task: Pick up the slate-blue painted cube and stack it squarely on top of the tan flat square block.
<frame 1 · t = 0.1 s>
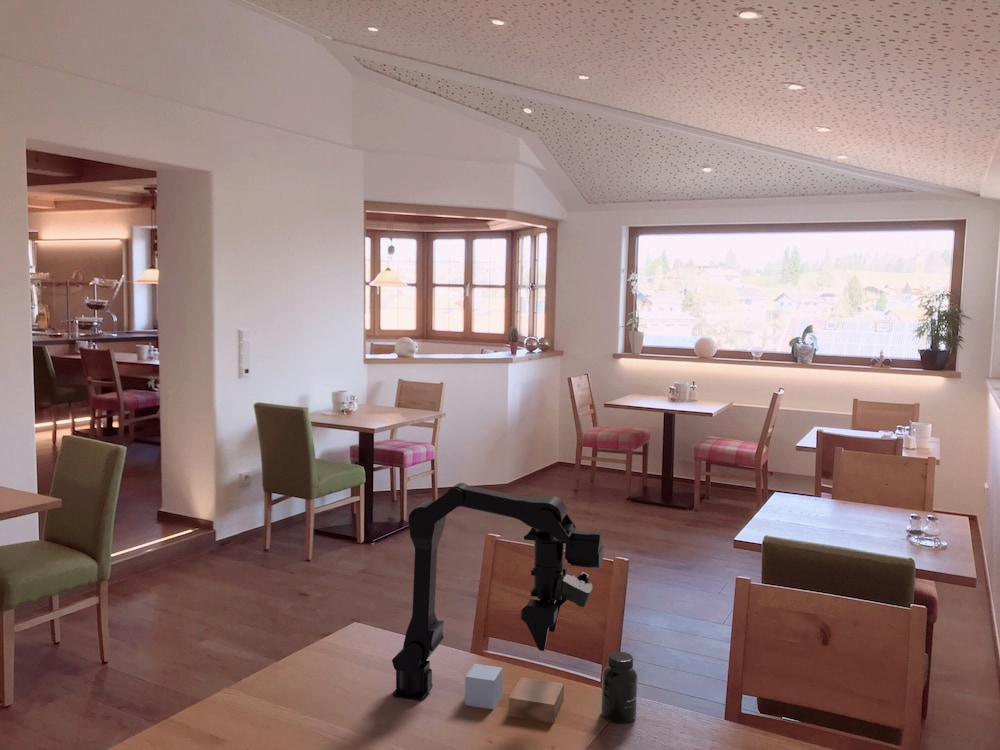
hand: (546, 640, 156), 15 cm above the table, tool pointing down, fingers open, 9 cm apart
supplement bottle: (618, 716, 157), on the table
slate cube: (483, 700, 162), on the table
tan flat square block: (536, 709, 159), on the table
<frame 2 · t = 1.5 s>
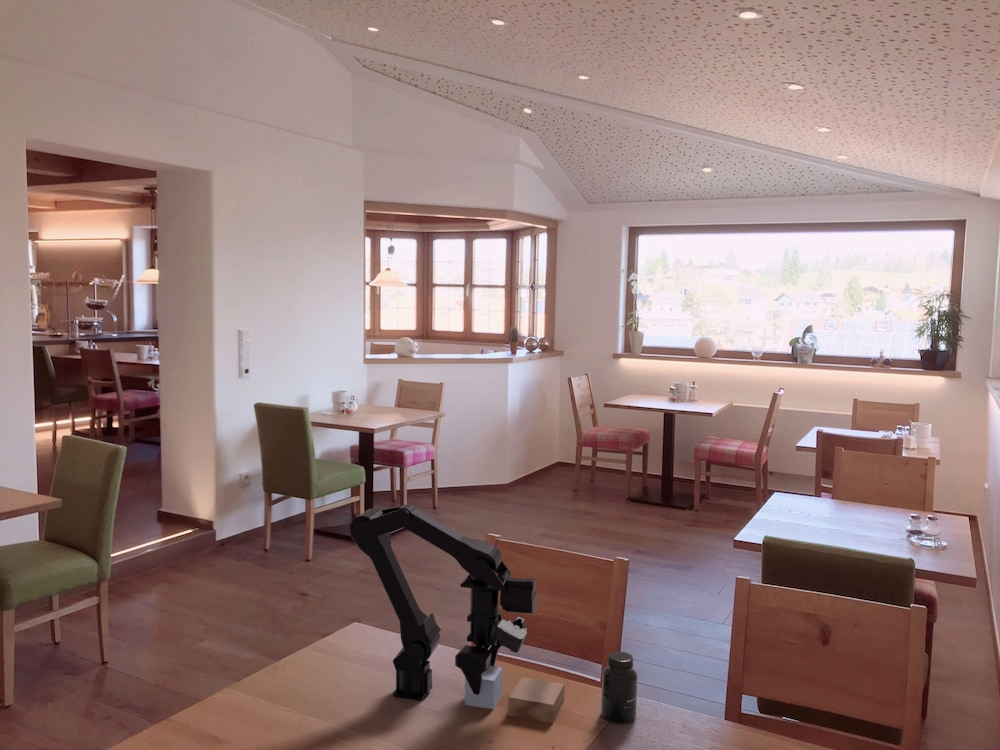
hand: (483, 683, 162), 3 cm above the table, tool pointing down, fingers open, 9 cm apart
nothing on the table moved.
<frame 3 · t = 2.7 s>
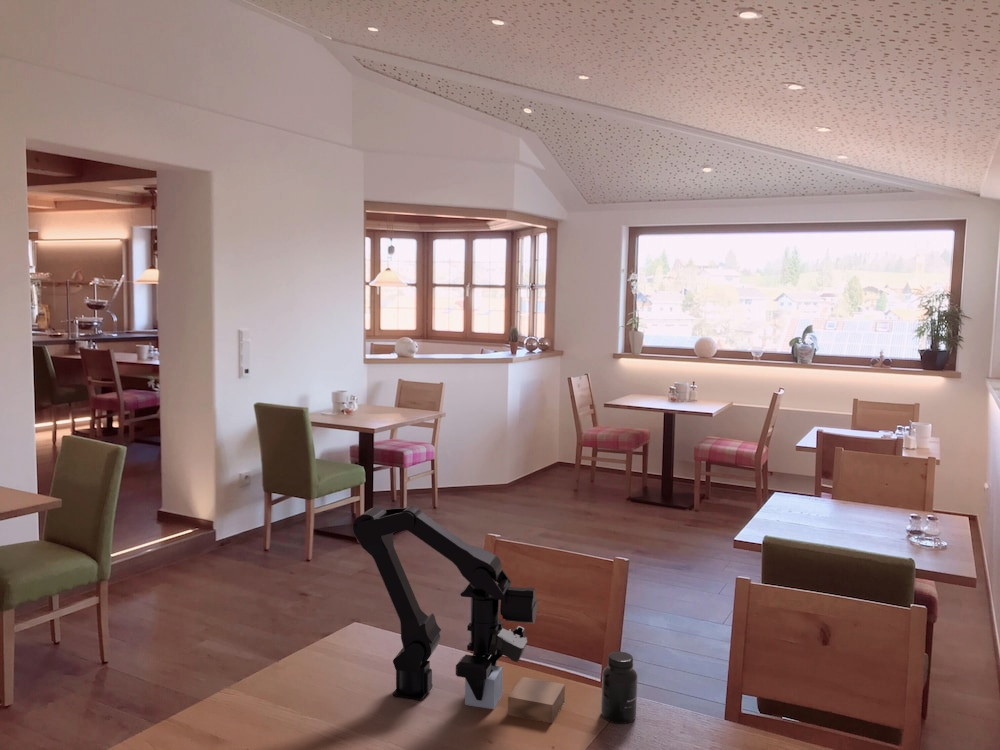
hand: (483, 692, 162), 2 cm above the table, tool pointing down, fingers closed on slate cube, 6 cm apart
slate cube: (483, 699, 162), on the table, touching gripper
everything else where it was.
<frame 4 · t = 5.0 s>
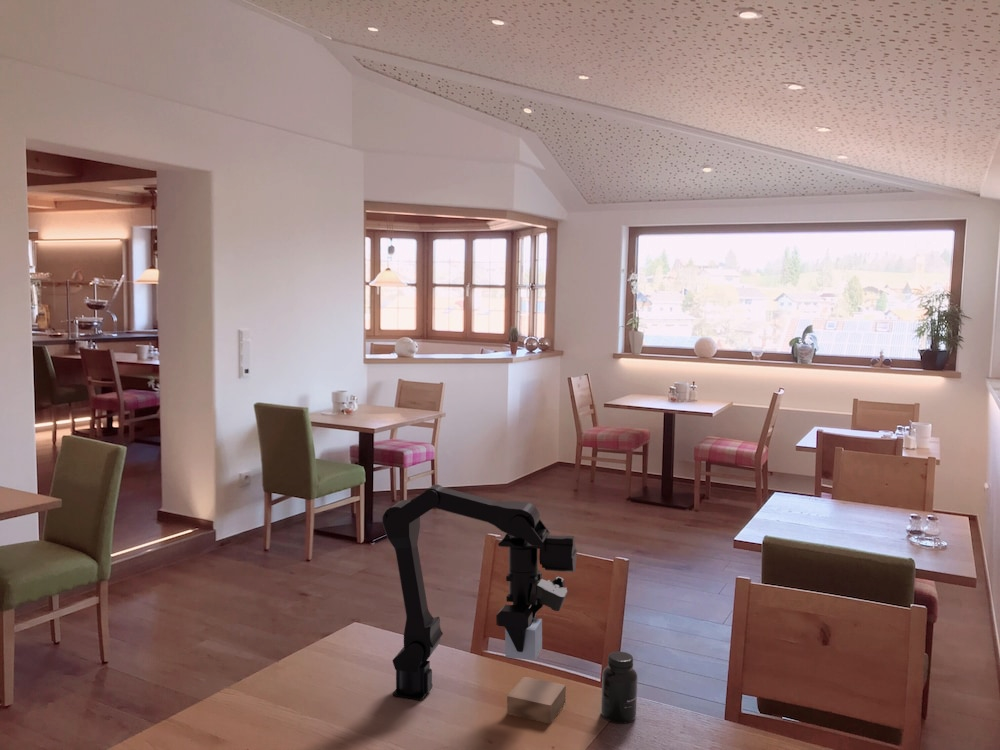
hand: (524, 645, 159), 13 cm above the table, tool pointing down, fingers closed on slate cube, 6 cm apart
slate cube: (524, 652, 159), point 11 cm above the table, touching gripper
everything else where it was.
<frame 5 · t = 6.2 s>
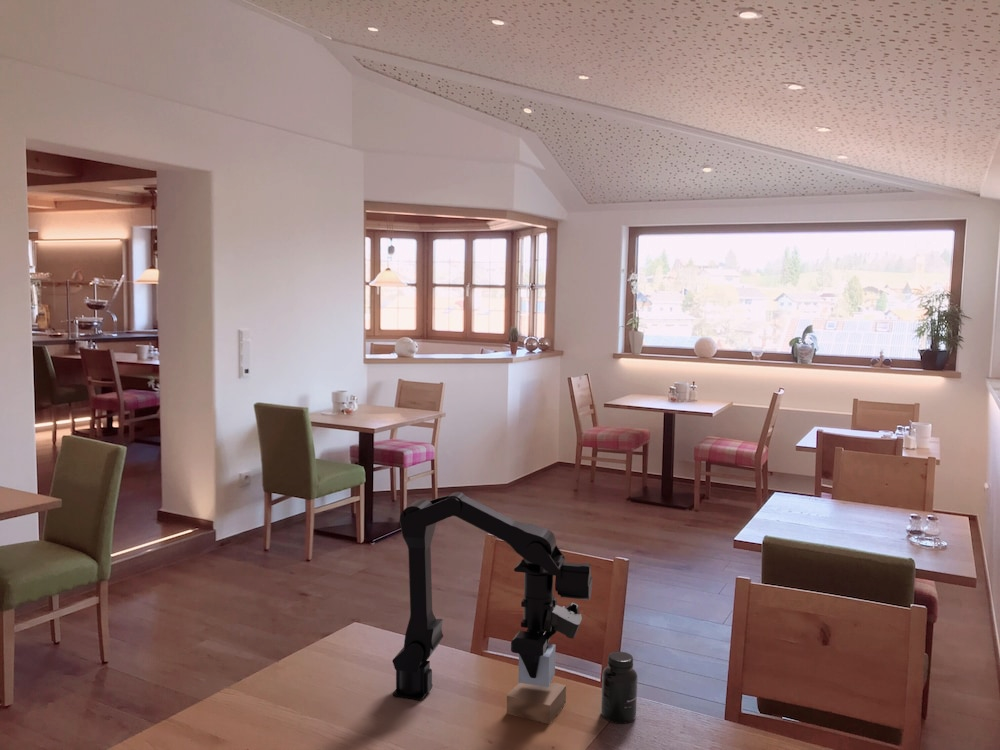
hand: (536, 670, 158), 8 cm above the table, tool pointing down, fingers closed on slate cube, 6 cm apart
slate cube: (536, 677, 158), point 6 cm above the table, touching gripper
everything else where it was.
when the fingers open (7 cm above the table, at t = 7.3 s): slate cube drops 2 cm, resting on tan flat square block.
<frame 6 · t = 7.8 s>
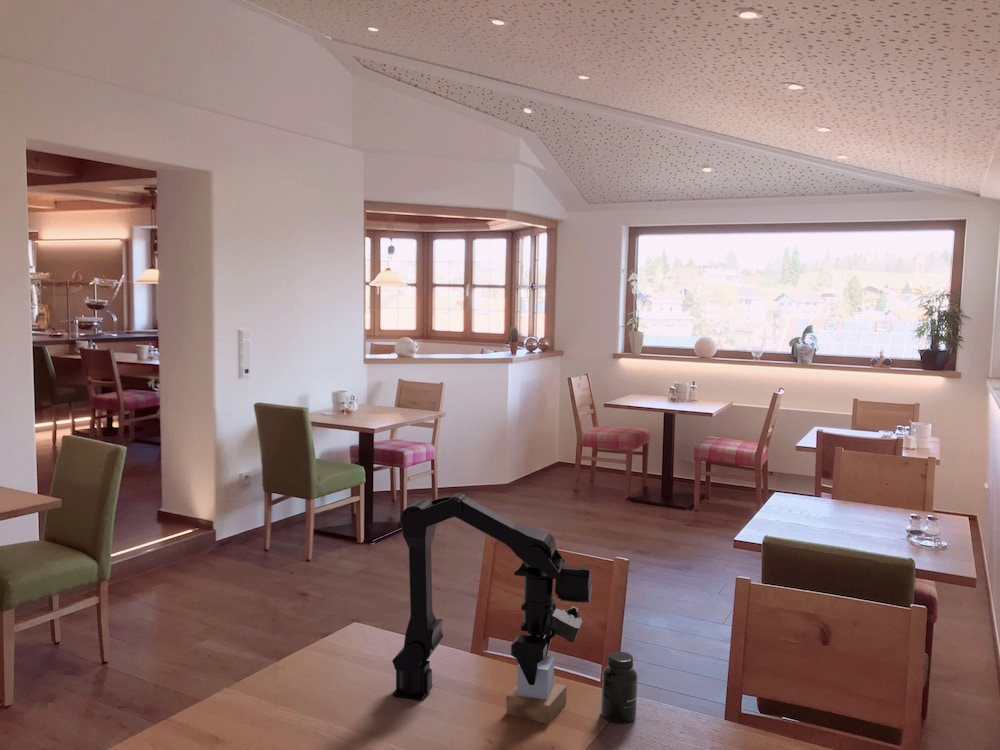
hand: (537, 674, 158), 7 cm above the table, tool pointing down, fingers open, 9 cm apart
slate cube: (535, 690, 159), point 4 cm above the table, touching tan flat square block
tan flat square block: (536, 710, 159), on the table, touching slate cube
everything else where it was.
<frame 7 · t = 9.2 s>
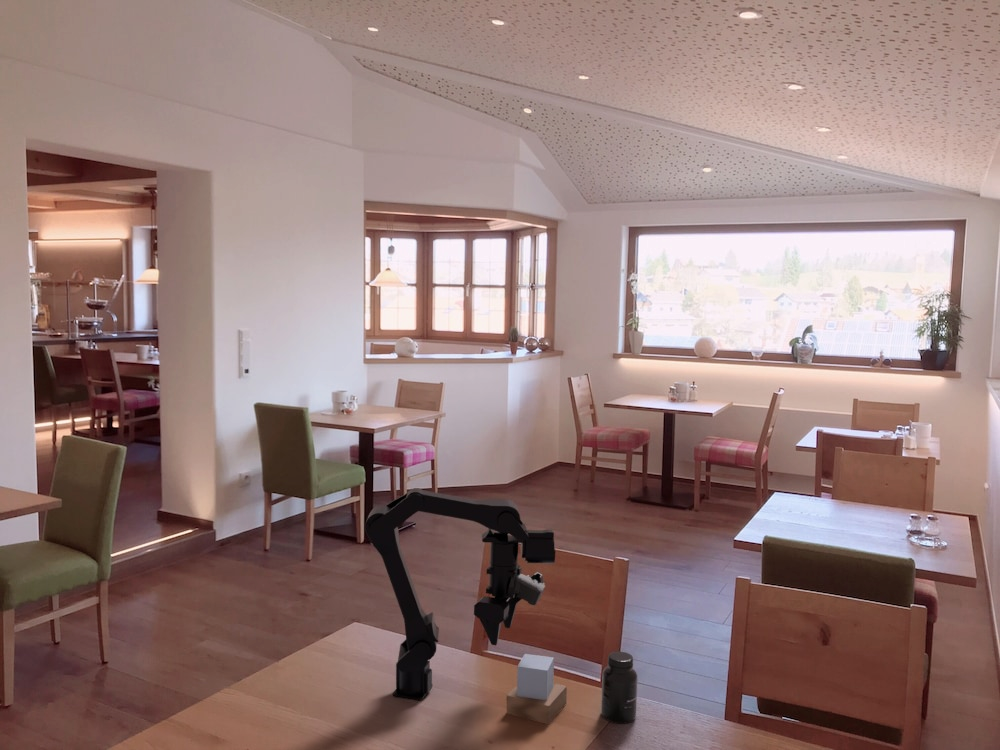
hand: (501, 636, 165), 12 cm above the table, tool pointing down, fingers open, 9 cm apart
nothing on the table moved.
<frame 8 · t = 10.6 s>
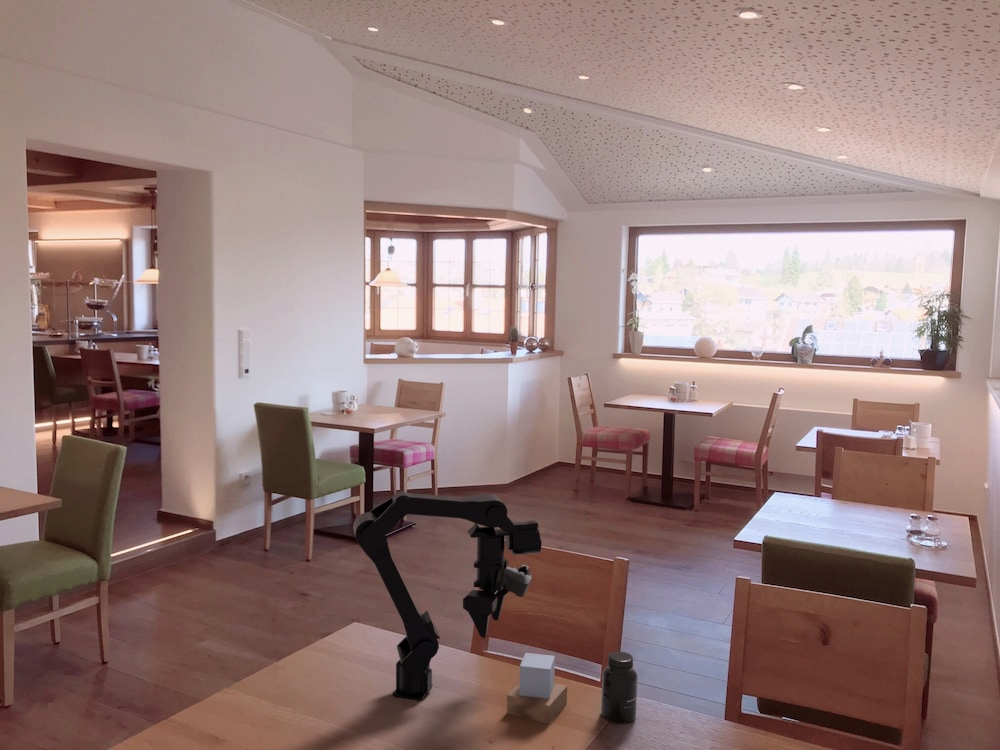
hand: (489, 628, 168), 12 cm above the table, tool pointing down, fingers open, 9 cm apart
slate cube: (537, 689, 159), point 4 cm above the table
tan flat square block: (537, 709, 159), on the table
everything else where it was.
at the end: slate cube 0.3 cm off-centre on the tan flat square block, point 4.0 cm above the tan flat square block's base; slate cube tilted 0°; the gripper is holding nothing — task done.
